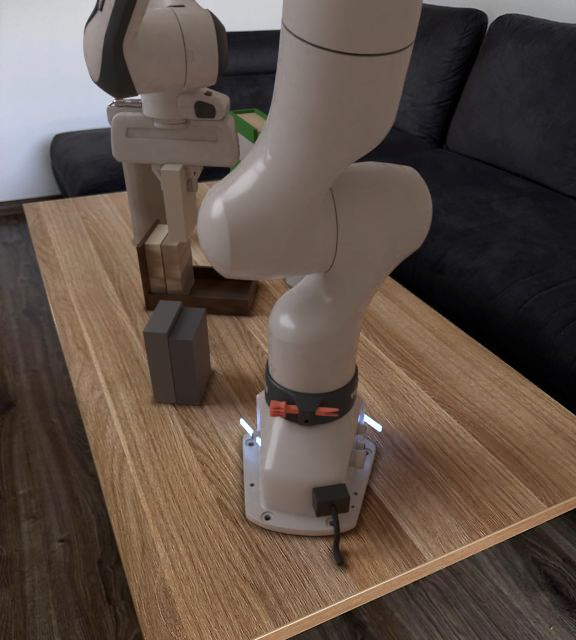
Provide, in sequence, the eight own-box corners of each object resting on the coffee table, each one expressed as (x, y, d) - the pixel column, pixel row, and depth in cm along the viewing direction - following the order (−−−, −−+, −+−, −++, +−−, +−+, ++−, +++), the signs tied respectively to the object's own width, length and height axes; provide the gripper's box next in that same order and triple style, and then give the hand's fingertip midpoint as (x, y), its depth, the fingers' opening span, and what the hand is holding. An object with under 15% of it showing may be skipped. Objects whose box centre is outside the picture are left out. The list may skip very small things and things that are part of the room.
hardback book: (284, 230, 144) (285, 126, 129) (256, 235, 142) (253, 129, 127) (258, 205, 157) (256, 108, 142) (232, 209, 154) (227, 111, 140)
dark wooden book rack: (258, 284, 122) (257, 223, 114) (248, 316, 112) (246, 252, 104) (164, 278, 124) (156, 218, 116) (146, 310, 114) (135, 247, 106)
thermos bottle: (151, 230, 143) (133, 106, 126) (176, 238, 140) (161, 111, 123) (127, 242, 138) (105, 113, 121) (153, 250, 135) (134, 119, 118)
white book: (198, 221, 106) (192, 152, 99) (187, 242, 99) (179, 170, 92) (182, 220, 106) (174, 151, 99) (169, 241, 99) (160, 169, 92)
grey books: (211, 371, 98) (205, 302, 90) (199, 405, 91) (191, 334, 83) (169, 368, 99) (159, 299, 91) (154, 402, 92) (142, 331, 84)
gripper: (97, 102, 88) (113, 194, 96) (233, 108, 86) (237, 200, 95) (111, 93, 93) (125, 180, 101) (240, 97, 91) (243, 186, 100)
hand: (180, 190), depth 98 cm, fingers closed on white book, 3 cm apart
